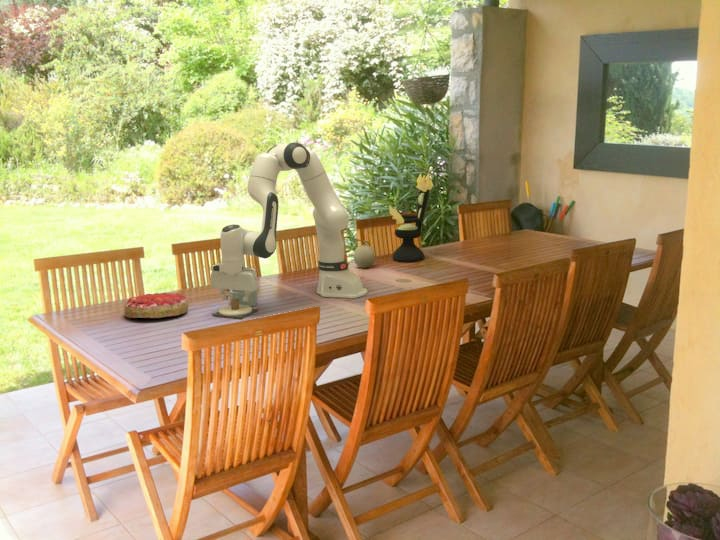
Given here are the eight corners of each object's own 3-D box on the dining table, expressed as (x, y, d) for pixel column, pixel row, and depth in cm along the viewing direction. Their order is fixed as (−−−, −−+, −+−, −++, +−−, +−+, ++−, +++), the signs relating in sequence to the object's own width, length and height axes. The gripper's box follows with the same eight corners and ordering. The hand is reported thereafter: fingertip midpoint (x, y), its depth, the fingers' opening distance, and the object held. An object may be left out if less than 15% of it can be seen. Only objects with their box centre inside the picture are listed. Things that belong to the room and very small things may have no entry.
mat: (258, 311, 313) (258, 309, 313) (240, 319, 301) (240, 317, 301) (230, 308, 318) (230, 306, 318) (212, 316, 307) (212, 314, 306)
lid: (258, 309, 313) (257, 296, 312) (240, 317, 301) (239, 304, 300) (230, 306, 318) (230, 293, 317) (212, 314, 306) (211, 301, 305)
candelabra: (388, 256, 415) (387, 171, 406) (429, 254, 418) (429, 170, 408) (393, 263, 397) (393, 175, 387) (436, 261, 399) (436, 174, 389)
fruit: (379, 266, 391) (379, 237, 388) (367, 270, 382) (367, 240, 379) (362, 264, 397) (361, 235, 394) (350, 268, 387) (349, 239, 384)
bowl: (262, 301, 327) (261, 288, 325) (248, 308, 317) (247, 294, 316) (239, 299, 331) (239, 285, 330) (225, 305, 321) (224, 291, 320)
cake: (156, 323, 294) (155, 302, 293) (110, 318, 307) (109, 298, 306) (201, 312, 315) (200, 292, 314) (156, 307, 328) (155, 288, 327)
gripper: (260, 266, 304) (262, 300, 307) (216, 263, 312) (218, 296, 315) (251, 269, 298) (253, 304, 302) (207, 266, 307) (209, 300, 310)
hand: (235, 300), depth 309 cm, fingers open, 8 cm apart
